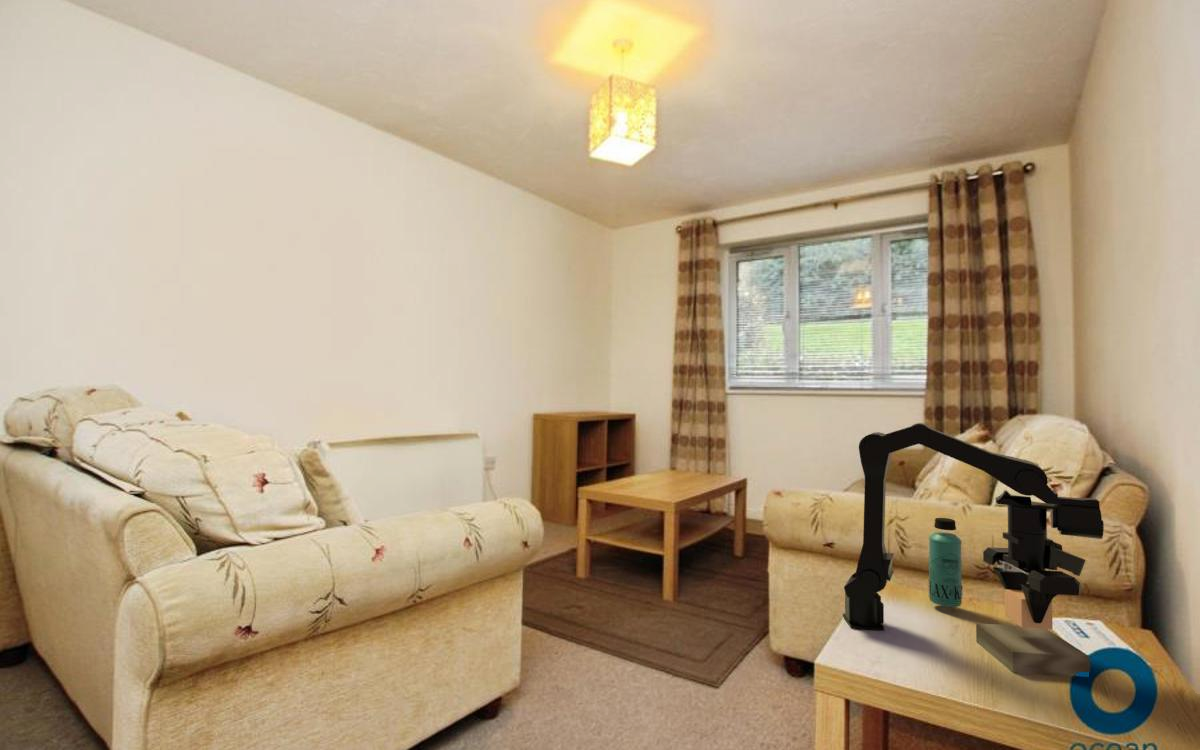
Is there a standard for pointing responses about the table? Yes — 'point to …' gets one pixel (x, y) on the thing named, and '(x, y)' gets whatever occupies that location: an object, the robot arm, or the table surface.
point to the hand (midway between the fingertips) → (1028, 616)
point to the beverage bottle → (945, 565)
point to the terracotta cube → (1024, 611)
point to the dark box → (1031, 650)
